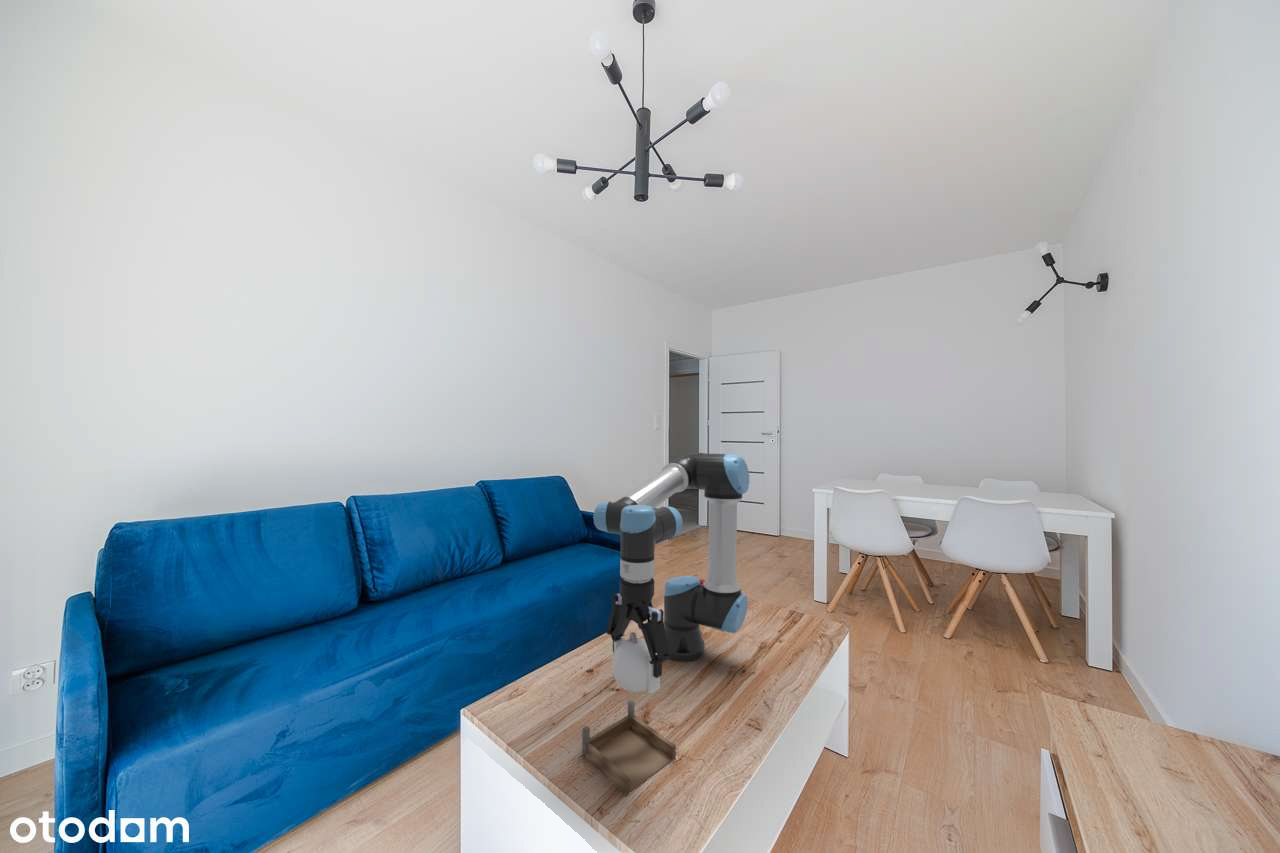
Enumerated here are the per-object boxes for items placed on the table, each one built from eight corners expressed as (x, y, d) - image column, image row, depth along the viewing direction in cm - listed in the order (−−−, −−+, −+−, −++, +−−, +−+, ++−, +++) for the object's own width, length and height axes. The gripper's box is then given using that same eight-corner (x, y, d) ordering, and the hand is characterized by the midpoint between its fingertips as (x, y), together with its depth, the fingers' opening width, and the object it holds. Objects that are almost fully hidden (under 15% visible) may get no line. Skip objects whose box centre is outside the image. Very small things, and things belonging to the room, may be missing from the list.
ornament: (604, 696, 91) (605, 639, 91) (623, 670, 101) (623, 619, 101) (650, 707, 88) (650, 648, 88) (665, 680, 97) (665, 627, 97)
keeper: (580, 755, 95) (581, 728, 96) (631, 724, 106) (631, 699, 106) (625, 797, 85) (625, 767, 85) (676, 758, 95) (676, 730, 95)
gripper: (591, 568, 100) (590, 664, 100) (663, 597, 83) (662, 712, 83) (616, 561, 105) (614, 653, 105) (688, 587, 89) (687, 695, 89)
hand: (635, 679), depth 94 cm, fingers closed on ornament, 10 cm apart
